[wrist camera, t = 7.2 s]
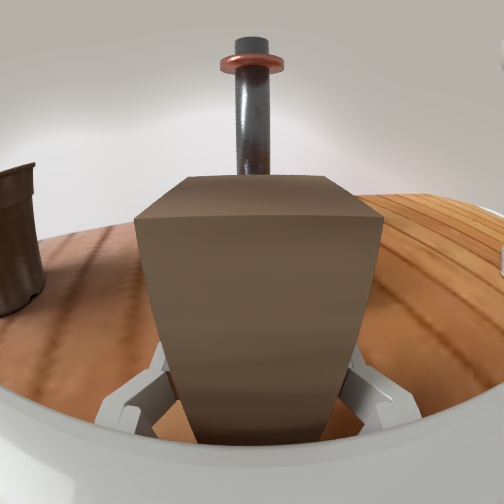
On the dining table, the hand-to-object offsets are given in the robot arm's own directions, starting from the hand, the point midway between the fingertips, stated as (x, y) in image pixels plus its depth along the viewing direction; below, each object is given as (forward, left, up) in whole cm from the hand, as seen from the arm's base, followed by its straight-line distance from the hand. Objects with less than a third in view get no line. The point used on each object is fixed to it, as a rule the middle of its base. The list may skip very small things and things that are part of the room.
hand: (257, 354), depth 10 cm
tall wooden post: (+1, +1, -8) cm, 8 cm away
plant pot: (+11, -34, -8) cm, 36 cm away
